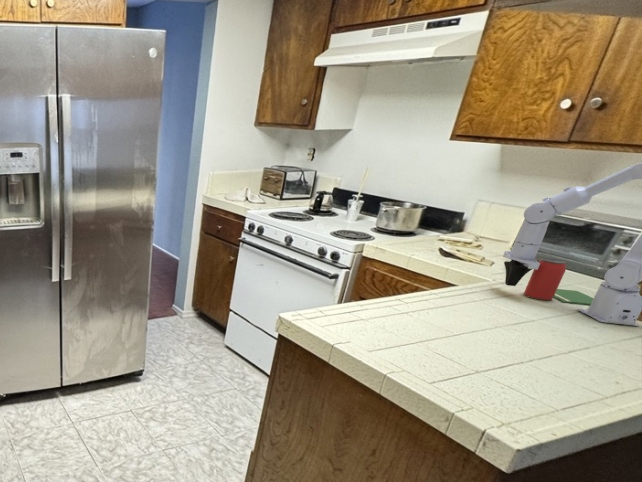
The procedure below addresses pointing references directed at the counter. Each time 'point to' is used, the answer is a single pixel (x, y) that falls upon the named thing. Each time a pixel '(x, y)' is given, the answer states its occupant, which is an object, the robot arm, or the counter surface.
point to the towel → (572, 297)
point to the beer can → (545, 279)
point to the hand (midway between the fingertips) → (510, 285)
